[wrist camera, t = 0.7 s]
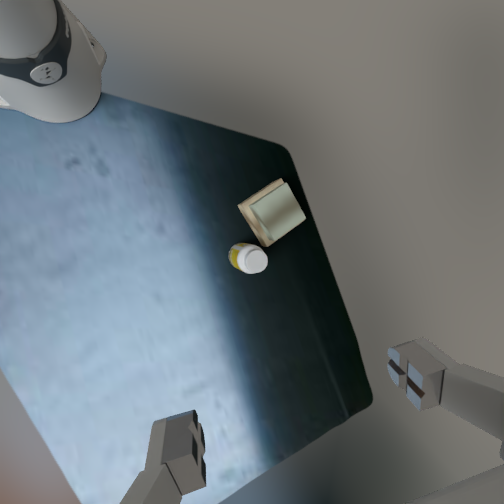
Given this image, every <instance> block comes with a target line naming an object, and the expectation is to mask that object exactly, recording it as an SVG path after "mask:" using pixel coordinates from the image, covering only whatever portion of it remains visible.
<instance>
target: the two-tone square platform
mask: <svg viewBox="0 0 504 504" xmlns="http://www.w3.org/2000/svg"><path fill="white" fill-rule="evenodd" d="M237 206H238V207H239V209H240V211H241V212H242V214H243V216H244V217H245V219H246V220H247V222H248V224H249V225H250V227H251V229H252V230H253V232H254V233H255V235H256V237H257V238H258V240H259V242H260V243H261V245H262V246H265V247H268V246H269V245H271V244H272V243H274V242H275V241H276V240H278V239H279V238H281V237H282V236H283V235H285V234H286V233H287V232H289V231H290V230H292V229H293V228H294V227H296V226H297V225H298V224H300V223H301V222H303V221H304V219H306V217H305V215H304V213H303V211H302V210H301V208H300V206H299V204H298V202H297V200H296V199H295V197H294V195H293V193H292V191H291V189H290V188H289V186H288V184H287V183H284V182H283V180H282V178H280V179H278V180H275V181H274V182H272V183H271V184H269V185H268V186H266V187H265V188H263V189H262V190H260V191H259V192H257V193H255V194H254V195H252V196H251V197H249V198H248V199H246V200H245V201H243V202H242V203H240V204H239V205H237Z"/></svg>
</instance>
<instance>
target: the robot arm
mask: <svg viewBox="0 0 504 504" xmlns="http://www.w3.org/2000/svg"><path fill="white" fill-rule="evenodd" d="M92 45H93V46H94V47H92ZM106 57H107V56H106V52H105V51H104V49H103V47H102V46H101V45H100V44H99V43H98V41H97V40H96V39H95V38H94V37H93V36H92V35H91V34H90V33H89V31H88V30H87V29H86V28H85V27H84V26H83V25H82V24H81V23H80V21H78V19H77V18H76V17H75V16H74V15H73V14H72V13H71V11H69V9H68V8H67V7H66V6H65V5H64V4H63V3H62V1H60V0H0V108H5V109H13V110H18V111H21V112H23V113H25V114H27V115H29V116H31V117H34V118H36V119H39V120H43V121H47V122H54V123H64V122H71V121H74V120H77V119H80V118H82V117H84V116H85V115H87V114H88V113H89V112H90V111H91V110H92V109H93V108H94V107H95V105H96V104H97V102H98V100H99V97H100V93H101V71H102V69H103V66H104V64H105V62H106ZM388 356H389V357H390V358H391V359H390V361H389V362H388V371H389V373H390V376H391V378H392V379H393V381H394V382H395V383H396V385H397V386H398V387H400V388H402V389H404V390H406V394H407V397H408V398H409V399H410V400H411V402H412V403H413V404H414V405H415V406H416V407H417V408H418V410H420V411H422V410H425V409H429V408H432V407H435V406H438V405H440V406H441V407H443V408H444V409H446V410H448V411H450V412H452V413H454V414H455V415H457V416H459V417H461V418H462V419H464V420H466V421H468V422H470V423H471V424H473V425H475V426H477V427H478V428H480V429H482V430H484V431H486V432H488V433H489V434H491V435H493V436H495V437H496V438H498V439H500V440H502V445H501V449H500V457H501V458H502V459H503V460H504V378H503V377H500V376H498V375H495V374H492V373H489V372H486V371H483V370H480V369H477V368H474V367H471V366H468V365H466V364H461V365H460V364H458V363H457V362H456V361H455V360H453V359H452V358H451V357H450V356H448V355H447V354H445V353H444V352H443V351H442V350H441V349H439V348H438V347H436V346H435V345H434V344H433V343H431V342H430V341H429V340H427V339H426V338H423V337H422V338H419V339H416V340H412V341H409V342H405V343H403V344H399V345H397V346H394V347H390V348H389V350H388ZM204 453H205V440H204V433H203V429H202V426H201V423H199V422H198V415H197V413H196V411H195V410H191V411H188V412H184V413H181V414H177V415H174V416H170V417H167V418H164V419H160V420H157V421H154V423H153V425H152V429H151V435H150V441H149V446H148V452H147V458H146V464H145V470H144V471H141V472H140V473H139V474H138V476H137V478H136V479H135V481H134V482H133V484H132V485H131V487H130V488H129V490H128V491H127V493H126V494H125V496H124V498H123V499H122V501H121V502H120V504H180V502H181V499H182V496H183V495H185V494H188V493H190V492H193V491H195V490H198V489H201V488H203V487H206V465H205V462H204V460H203V455H204ZM404 504H504V464H503V465H500V466H498V467H495V468H493V469H490V470H488V471H485V472H483V473H480V474H478V475H475V476H472V477H470V478H468V479H465V480H462V481H460V482H457V483H455V484H452V485H450V486H447V487H445V488H442V489H440V490H437V491H434V492H432V493H429V494H427V495H424V496H422V497H419V498H417V499H414V500H412V501H409V502H407V503H404Z"/></svg>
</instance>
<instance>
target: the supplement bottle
mask: <svg viewBox="0 0 504 504" xmlns="http://www.w3.org/2000/svg"><path fill="white" fill-rule="evenodd" d="M229 260H230V262H231V264H232V265H233V266H234V267H236V268H238V269H239V270H241V271H243V272H245V273H249V274H253V273H258V272H261V271H263V270H264V269H265V268H266V266H267V263H268V259H267V256H266V254H265V253H264V252H263V250H262V249H261V248H260V247H258V246H256V245H252V244H247V243H237V244H235V245H234V246H233V247H232V248H231V249H230V251H229Z"/></svg>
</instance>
